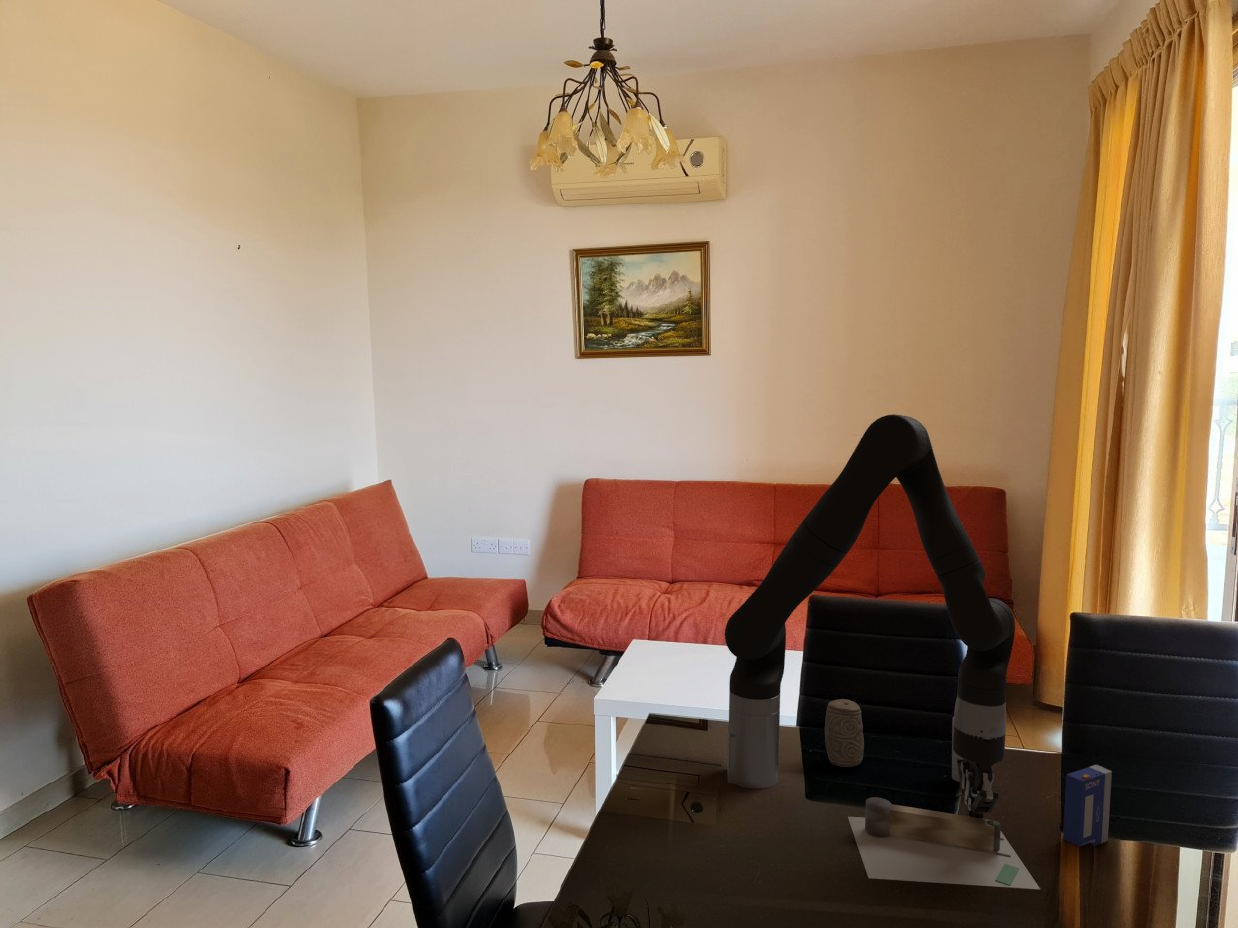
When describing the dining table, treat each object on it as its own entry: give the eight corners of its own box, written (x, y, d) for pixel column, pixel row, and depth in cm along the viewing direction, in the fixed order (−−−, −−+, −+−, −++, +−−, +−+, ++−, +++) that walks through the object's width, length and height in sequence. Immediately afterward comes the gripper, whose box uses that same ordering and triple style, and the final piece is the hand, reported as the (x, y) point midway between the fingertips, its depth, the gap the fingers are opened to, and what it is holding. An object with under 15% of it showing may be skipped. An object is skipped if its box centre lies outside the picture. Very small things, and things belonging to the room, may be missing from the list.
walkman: (1078, 852, 131) (1083, 779, 130) (1062, 844, 134) (1066, 771, 133) (1109, 840, 135) (1113, 768, 134) (1092, 832, 137) (1096, 762, 136)
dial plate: (868, 884, 122) (868, 876, 122) (847, 822, 140) (847, 815, 140) (1040, 895, 120) (1040, 887, 120) (996, 830, 138) (997, 824, 138)
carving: (830, 753, 167) (832, 694, 166) (868, 762, 163) (870, 703, 162) (818, 764, 162) (820, 703, 161) (856, 774, 158) (858, 712, 157)
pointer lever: (864, 833, 134) (865, 806, 133) (865, 821, 138) (866, 795, 137) (1001, 857, 127) (1002, 828, 127) (998, 843, 131) (999, 816, 131)
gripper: (942, 708, 139) (937, 808, 141) (968, 742, 126) (962, 851, 128) (989, 710, 138) (984, 810, 140) (1020, 744, 125) (1013, 854, 127)
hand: (973, 830), depth 134 cm, fingers closed
